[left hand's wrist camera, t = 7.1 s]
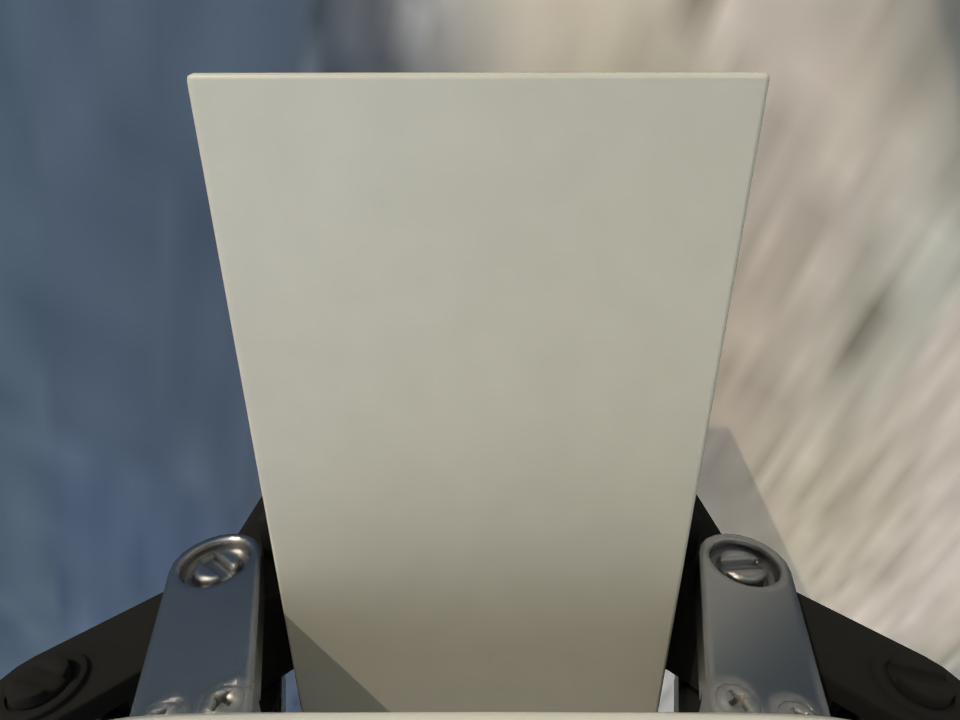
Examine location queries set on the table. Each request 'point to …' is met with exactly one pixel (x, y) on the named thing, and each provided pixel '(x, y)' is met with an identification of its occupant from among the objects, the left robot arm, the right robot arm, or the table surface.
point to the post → (478, 366)
